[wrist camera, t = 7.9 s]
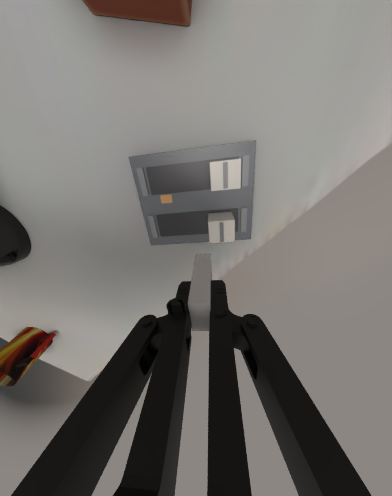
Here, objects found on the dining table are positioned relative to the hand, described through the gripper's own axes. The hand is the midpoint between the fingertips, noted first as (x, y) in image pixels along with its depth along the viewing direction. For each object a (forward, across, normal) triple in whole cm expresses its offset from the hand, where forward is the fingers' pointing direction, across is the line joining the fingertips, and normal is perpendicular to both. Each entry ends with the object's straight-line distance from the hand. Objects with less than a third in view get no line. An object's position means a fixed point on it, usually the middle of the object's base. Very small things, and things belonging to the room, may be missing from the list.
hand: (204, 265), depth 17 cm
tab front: (+14, +3, +8) cm, 17 cm away
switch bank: (+16, -2, +4) cm, 17 cm away
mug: (+17, -59, -36) cm, 71 cm away
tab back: (+14, +2, 0) cm, 15 cm away
